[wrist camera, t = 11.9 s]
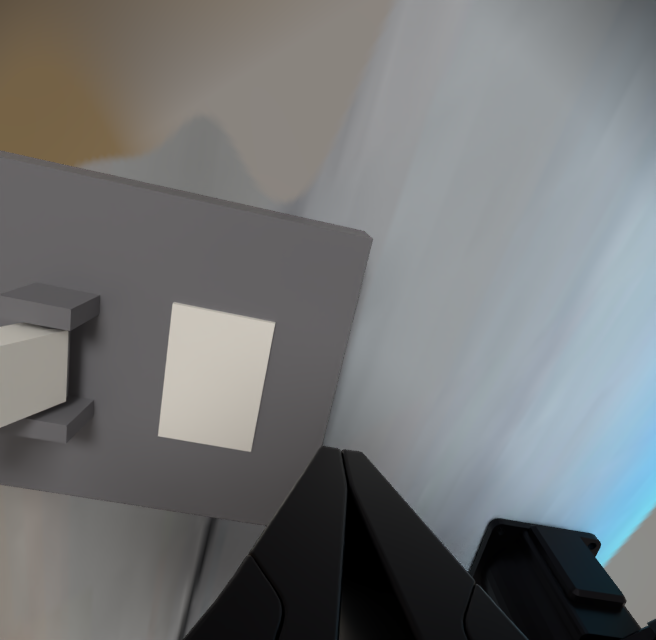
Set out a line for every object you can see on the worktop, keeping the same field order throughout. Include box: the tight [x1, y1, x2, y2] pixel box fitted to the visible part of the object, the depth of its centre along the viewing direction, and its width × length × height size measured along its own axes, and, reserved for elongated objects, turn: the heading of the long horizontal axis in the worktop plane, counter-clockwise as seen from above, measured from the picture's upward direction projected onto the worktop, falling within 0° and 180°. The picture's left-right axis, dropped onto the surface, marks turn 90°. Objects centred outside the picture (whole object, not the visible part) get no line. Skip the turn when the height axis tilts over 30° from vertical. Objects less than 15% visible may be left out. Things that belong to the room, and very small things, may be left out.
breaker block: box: [0, 151, 373, 526], centre depth 17 cm, size 14×22×5 cm, turn 78°
